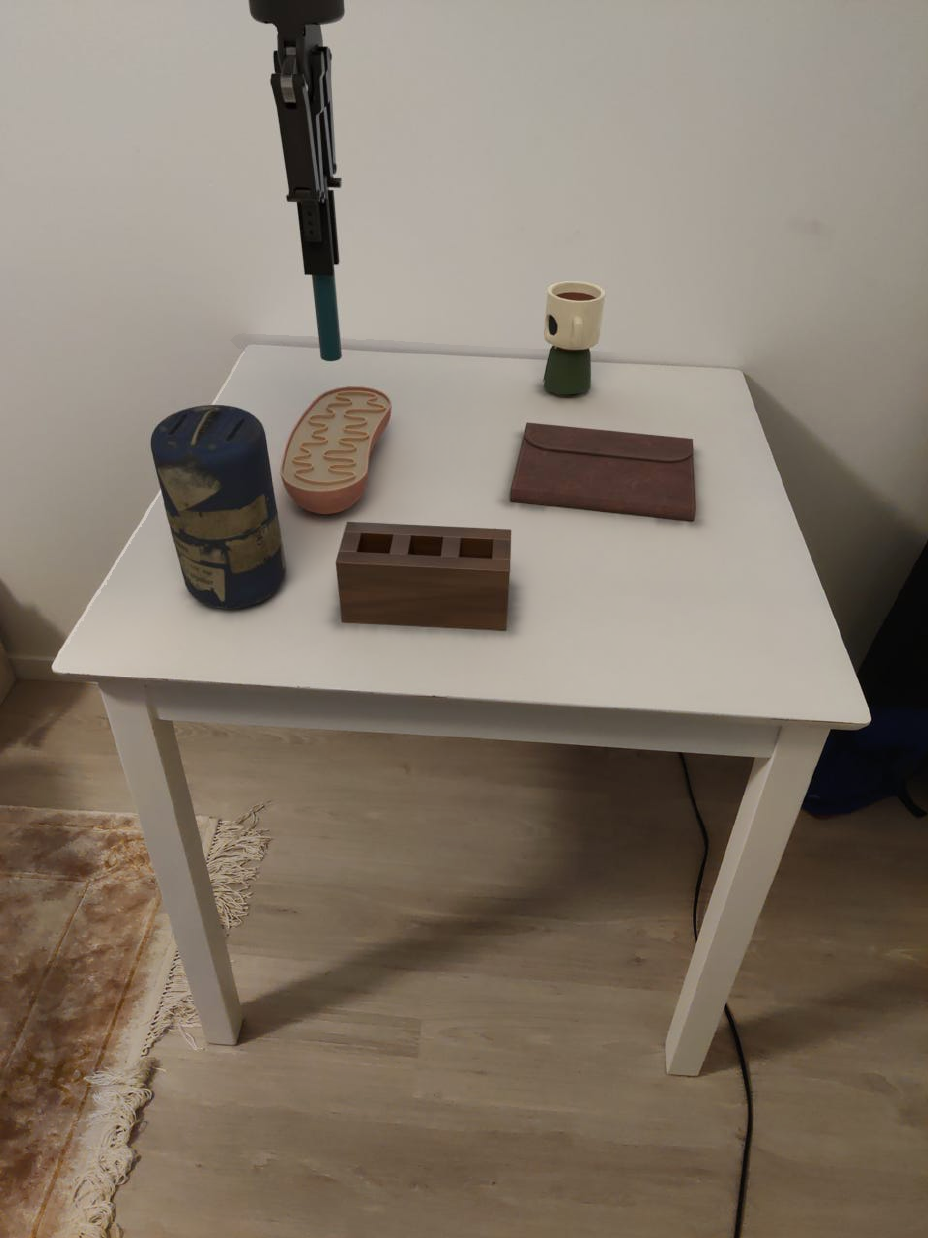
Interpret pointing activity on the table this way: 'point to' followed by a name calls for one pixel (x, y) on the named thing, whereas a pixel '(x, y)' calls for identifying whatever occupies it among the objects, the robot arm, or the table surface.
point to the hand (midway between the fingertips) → (322, 267)
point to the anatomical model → (334, 448)
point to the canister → (220, 504)
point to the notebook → (606, 471)
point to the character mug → (571, 334)
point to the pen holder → (424, 575)
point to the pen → (327, 311)
